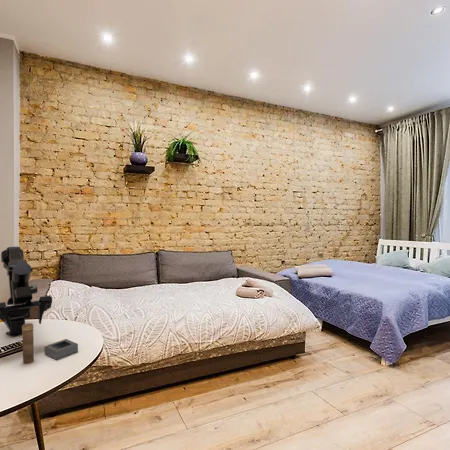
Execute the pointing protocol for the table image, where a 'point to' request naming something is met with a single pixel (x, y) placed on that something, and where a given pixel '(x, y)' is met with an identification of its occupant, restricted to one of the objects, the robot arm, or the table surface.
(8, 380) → the table surface
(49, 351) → the socket block
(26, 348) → the pin
